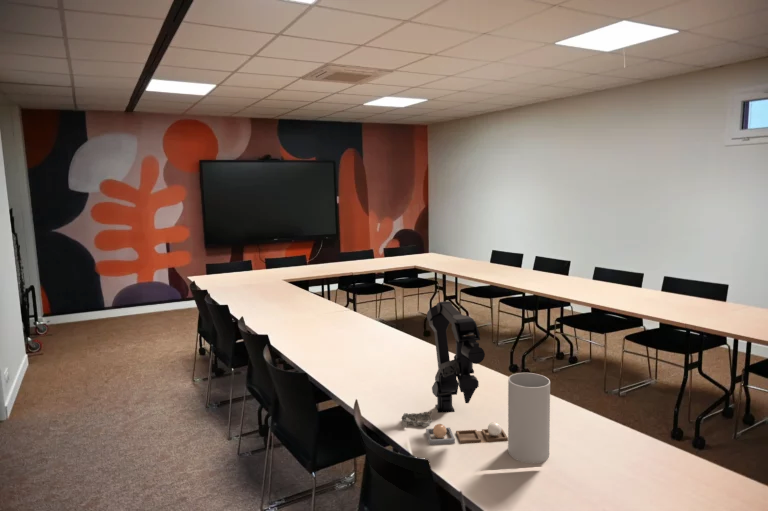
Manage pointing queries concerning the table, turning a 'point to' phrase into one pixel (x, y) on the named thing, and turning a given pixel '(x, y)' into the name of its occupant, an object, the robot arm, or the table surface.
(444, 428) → the egg brown
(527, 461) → the cylinder vase
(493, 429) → the white smooth ball
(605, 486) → the table surface
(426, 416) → the egg carton
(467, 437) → the rack
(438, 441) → the dish
